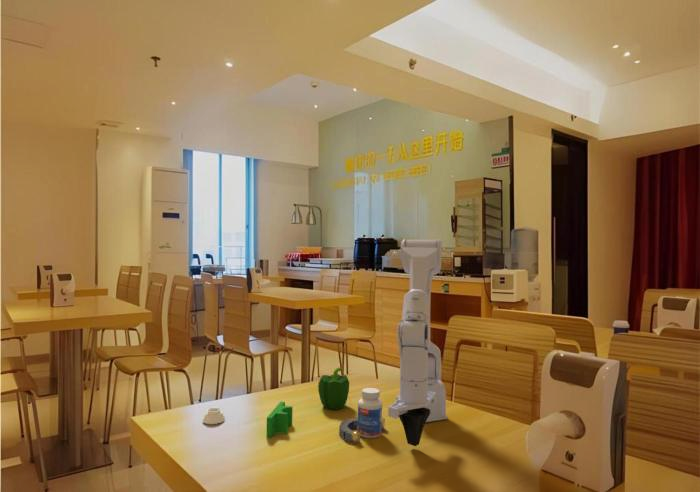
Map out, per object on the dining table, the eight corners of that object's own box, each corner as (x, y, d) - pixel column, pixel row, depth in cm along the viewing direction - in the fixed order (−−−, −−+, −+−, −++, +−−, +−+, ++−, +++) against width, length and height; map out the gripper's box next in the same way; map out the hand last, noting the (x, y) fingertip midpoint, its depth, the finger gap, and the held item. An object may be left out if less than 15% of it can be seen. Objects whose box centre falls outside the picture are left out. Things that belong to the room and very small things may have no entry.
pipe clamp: (283, 439, 101) (283, 418, 101) (266, 438, 101) (266, 417, 101) (295, 420, 112) (295, 401, 112) (280, 419, 112) (280, 401, 112)
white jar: (226, 423, 109) (222, 416, 114) (226, 411, 109) (222, 404, 114) (204, 427, 107) (201, 420, 112) (204, 414, 107) (201, 407, 112)
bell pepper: (327, 414, 116) (327, 374, 116) (313, 404, 123) (313, 367, 123) (356, 409, 120) (356, 370, 120) (340, 400, 127) (341, 363, 127)
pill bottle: (356, 437, 101) (356, 393, 102) (358, 428, 107) (359, 386, 107) (381, 439, 101) (381, 394, 101) (382, 430, 106) (382, 387, 106)
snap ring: (386, 428, 107) (386, 419, 107) (356, 445, 98) (356, 434, 98) (359, 421, 111) (359, 411, 112) (328, 436, 102) (329, 426, 102)
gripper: (417, 368, 104) (417, 429, 104) (376, 381, 94) (376, 448, 93) (445, 374, 99) (444, 438, 99) (404, 388, 89) (404, 459, 89)
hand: (413, 444), depth 96 cm, fingers closed
